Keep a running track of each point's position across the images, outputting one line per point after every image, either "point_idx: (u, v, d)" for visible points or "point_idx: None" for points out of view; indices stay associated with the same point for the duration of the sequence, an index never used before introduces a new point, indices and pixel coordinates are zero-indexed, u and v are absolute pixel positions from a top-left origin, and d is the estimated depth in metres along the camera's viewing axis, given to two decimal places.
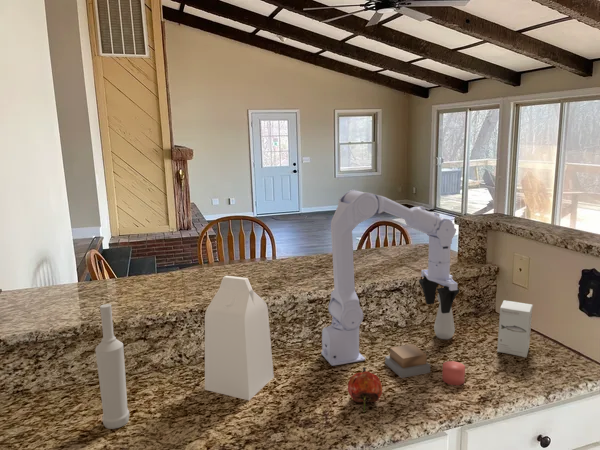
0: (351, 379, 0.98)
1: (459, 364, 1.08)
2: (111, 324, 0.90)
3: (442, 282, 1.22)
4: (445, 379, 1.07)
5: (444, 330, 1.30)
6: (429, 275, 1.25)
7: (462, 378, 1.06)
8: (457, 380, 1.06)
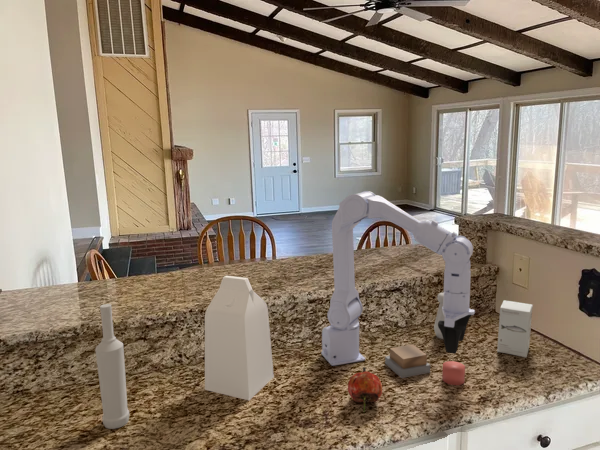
0: (351, 379, 0.98)
1: (459, 364, 1.08)
2: (111, 324, 0.90)
3: (444, 314, 1.03)
4: (445, 379, 1.07)
5: None
6: None
7: (462, 378, 1.06)
8: (457, 380, 1.06)
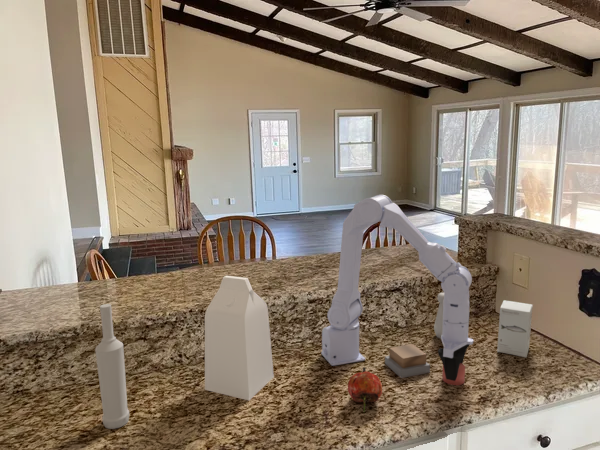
0: (351, 379, 0.98)
1: None
2: (111, 324, 0.90)
3: (443, 344, 1.04)
4: (445, 379, 1.07)
5: None
6: None
7: (462, 378, 1.06)
8: (457, 379, 1.06)
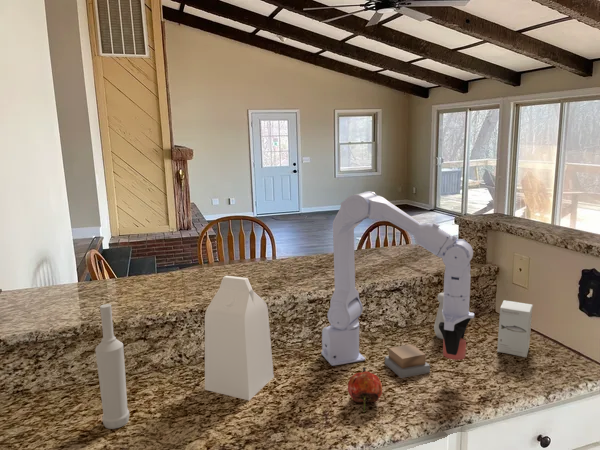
0: (351, 379, 0.98)
1: (460, 339, 1.07)
2: (111, 324, 0.90)
3: (444, 318, 1.03)
4: (446, 353, 1.06)
5: None
6: None
7: (463, 352, 1.05)
8: (457, 354, 1.05)
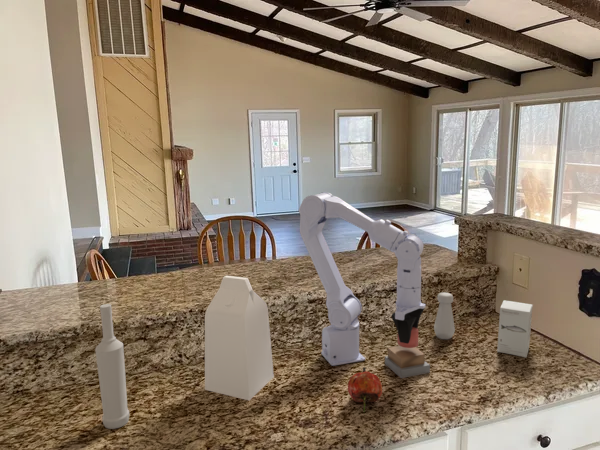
0: (351, 379, 0.98)
1: (413, 328, 1.14)
2: (111, 324, 0.90)
3: (396, 308, 1.09)
4: (399, 342, 1.12)
5: (444, 330, 1.30)
6: None
7: (415, 341, 1.11)
8: (410, 342, 1.11)
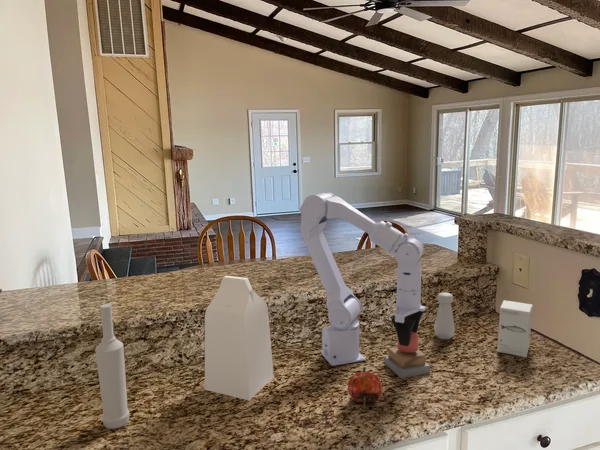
0: (351, 379, 0.98)
1: (413, 333, 1.14)
2: (111, 324, 0.90)
3: (396, 311, 1.09)
4: (399, 347, 1.12)
5: (444, 330, 1.30)
6: None
7: (415, 345, 1.11)
8: (410, 347, 1.11)
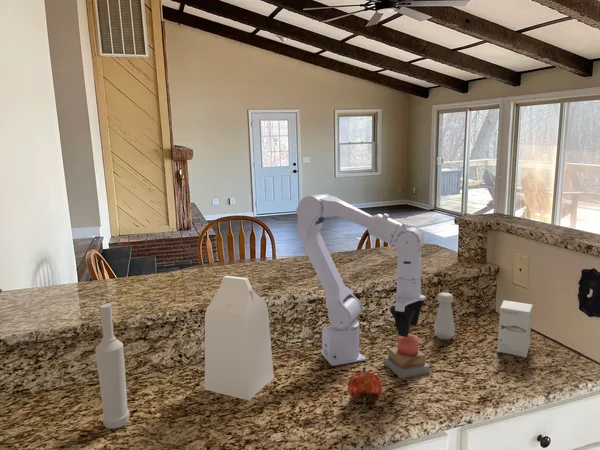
0: (351, 379, 0.98)
1: (413, 336, 1.14)
2: (111, 324, 0.90)
3: (396, 300, 1.09)
4: (399, 350, 1.13)
5: (444, 330, 1.30)
6: None
7: (415, 349, 1.12)
8: (410, 350, 1.11)
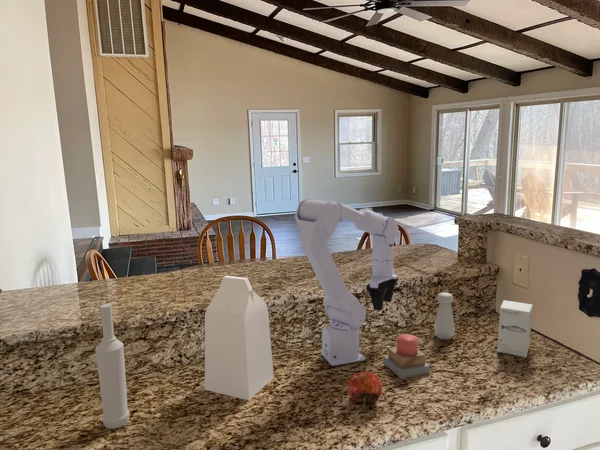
0: (351, 379, 0.98)
1: (412, 336, 1.14)
2: (111, 324, 0.90)
3: None
4: (399, 351, 1.12)
5: (444, 330, 1.30)
6: None
7: (415, 349, 1.11)
8: (410, 351, 1.11)
